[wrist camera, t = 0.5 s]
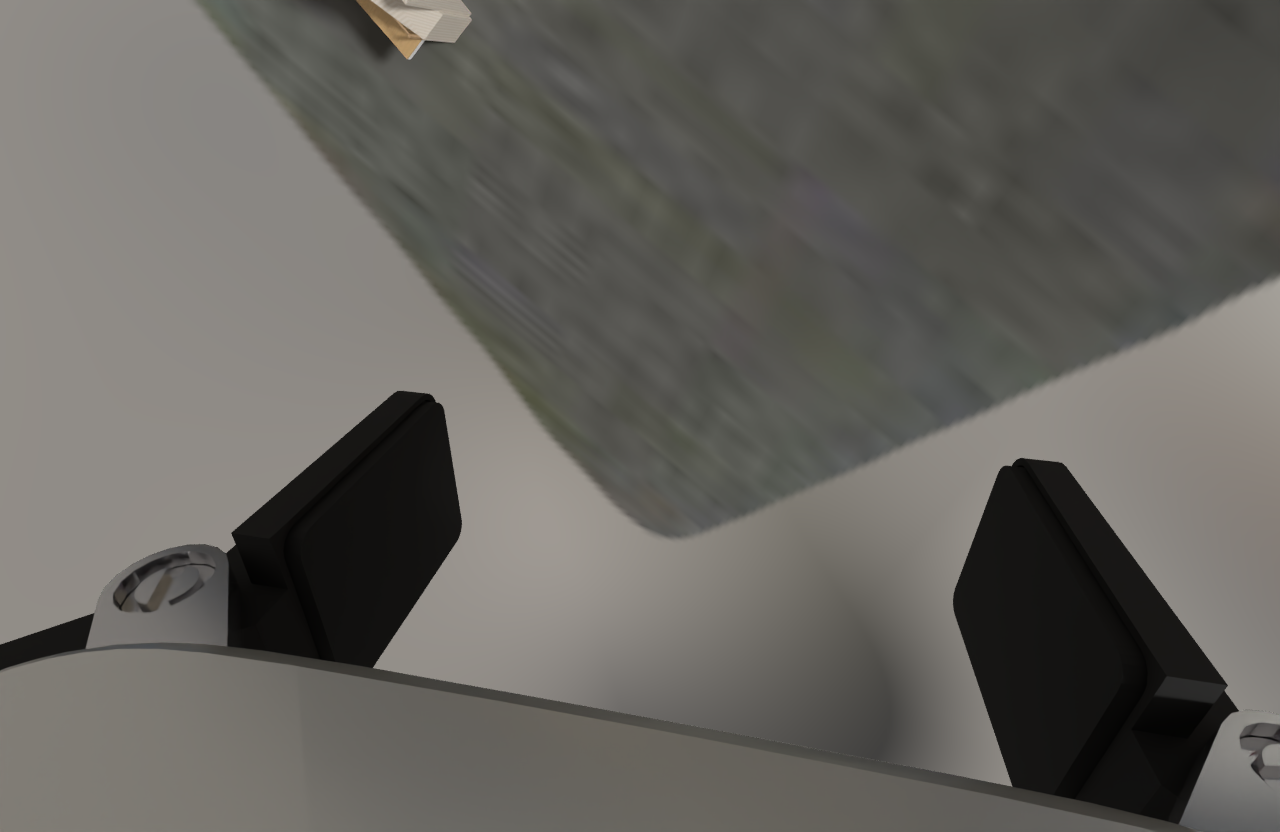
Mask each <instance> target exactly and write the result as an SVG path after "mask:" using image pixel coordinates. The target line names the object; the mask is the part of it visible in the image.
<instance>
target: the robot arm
mask: <svg viewBox="0 0 1280 832" xmlns="http://www.w3.org/2000/svg"><path fill="white" fill-rule="evenodd" d="M461 527H462V520H461V513H460V507H459V501H458V494H457V488H456V482H455V475H454V469H453V463H452V457H451V451H450V444H449V438H448V432H447V426H446V419H445V414H444V409H443V406H442V405H441V404H440V403H436V402H435V399H434V398H433V396H432V395H430V394H425V393H416V392H407V391H397V392H395V393H394V394H393V395H391V396H390V397H389V398H388V399H387V400H386V401H384V402H383V403H382V404H381V405H380V406H379V407H377V408H376V409H375V410H374V411H373V412H372V413H370V414H369V415H368V416H367V417H366V418H365V419H363V420H362V421H361V422H360V423H359V424H358V425H356V426H355V427H354V428H353V429H352V430H351V431H350V432H348V433H347V434H346V435H345V436H344V437H343V438H341V439H340V440H339V441H338V442H337V443H336V444H334V445H333V446H332V447H331V448H330V449H329V450H327V451H326V452H325V453H324V454H323V455H322V456H320V457H319V458H318V459H317V460H316V461H315V462H313V463H312V464H311V465H310V466H309V467H308V468H306V469H305V470H304V471H303V472H302V473H301V474H299V475H298V476H297V477H296V478H295V479H294V480H292V481H291V482H290V483H289V484H288V485H287V486H286V487H284V488H283V489H282V490H281V491H280V492H278V493H277V494H276V495H275V496H274V497H273V498H271V500H269V501H268V502H267V503H266V504H265V505H263V506H262V507H261V508H260V509H259V510H257V511H256V512H255V513H254V514H253V515H252V516H250V517H249V518H248V519H247V520H246V521H245V522H244V523H242V524H241V525H240V526H239V527H238V528H237V529H235V531H233V532H232V536H233V538H234V541H235V543H236V545H235V546H234V547H233V548H232V549H231V550H229V551H228V552H227V553H224V552H223V551H222V550H220V549H219V548H218V547H214V546H210V545H206V544H196V545H195V544H194V545H184V546H178V547H174V548H169V549H166V550H163V551H160V552H157V553H154V554H152V555H149V556H148V557H145V558H143V559H141V560H139V561H137V562H136V563H133V564H132V565H130V566H129V567H128V568H126V569H125V570H123V571H122V572H120V573H119V574H117V575H116V576H115V577H114V578H113V579H112V580H111V581H110V582H109V584H107V585H106V586H105V588H104V589H103V591H102V593H101V595H100V597H99V599H98V602H97V606H96V610H95V613H93V614H90V615H87V616H84V617H81V618H78V619H75V620H73V621H70V622H66V623H63V624H60V625H57V626H55V627H52V628H49V629H46V630H43V631H40V632H37V633H34V634H31V635H28V636H25V637H22V638H19V639H16V640H13V641H10V642H7V643H4V644H1V645H0V832H1280V715H1278V714H1275V713H1272V712H1266V711H1257V710H1244V711H1239V710H1238V709H1237V708H1236V706H1235V705H1234V703H1233V702H1232V701H1231V699H1230V698H1229V697H1228V695H1227V694H1226V693H1225V691H1224V690H1225V689H1226V687H1227V686H1228V685H1227V684H1226V682H1225V681H1224V680H1223V678H1222V677H1221V676H1220V674H1219V673H1218V671H1217V670H1216V669H1215V667H1214V666H1213V665H1212V663H1211V662H1210V661H1209V659H1208V658H1207V657H1206V655H1205V654H1204V652H1203V651H1202V650H1201V649H1200V647H1199V646H1198V644H1197V643H1196V642H1195V640H1194V639H1193V638H1192V636H1191V635H1190V634H1189V632H1188V631H1187V629H1186V628H1185V627H1184V625H1183V624H1182V623H1181V621H1180V620H1179V619H1178V617H1177V616H1176V615H1175V613H1174V612H1173V611H1172V609H1171V608H1170V607H1169V605H1168V604H1167V602H1166V601H1165V600H1164V598H1163V597H1162V596H1161V595H1160V593H1159V592H1158V590H1157V589H1156V588H1155V586H1154V585H1153V584H1152V582H1151V581H1150V580H1149V578H1148V577H1147V576H1146V574H1145V573H1144V571H1143V570H1142V569H1141V567H1140V566H1139V565H1138V563H1137V562H1136V561H1135V559H1134V558H1133V556H1132V555H1131V554H1130V552H1129V551H1128V550H1127V548H1126V547H1125V546H1124V544H1123V543H1122V542H1121V540H1120V539H1119V538H1118V536H1117V535H1116V533H1114V531H1113V529H1112V528H1111V527H1110V525H1109V524H1108V523H1107V522H1106V520H1105V519H1104V517H1103V516H1102V515H1101V513H1100V512H1099V510H1098V509H1097V508H1096V506H1095V505H1094V504H1093V502H1092V501H1091V500H1090V498H1089V497H1088V496H1087V494H1086V493H1085V492H1084V490H1083V489H1082V488H1081V486H1080V485H1079V484H1078V482H1077V481H1076V480H1075V478H1074V477H1073V476H1072V474H1071V473H1070V471H1069V470H1068V469H1067V467H1066V466H1065V465H1064V464H1062V463H1059V462H1052V461H1043V460H1033V459H1024V458H1020V459H1017V460H1016V461H1015V462H1014V463H1013V465H1012V466H1003V467H1002V468H1001V469H1000V471H999V473H998V475H997V478H996V481H995V483H994V486H993V489H992V491H991V494H990V497H989V499H988V502H987V505H986V507H985V510H984V513H983V515H982V518H981V521H980V524H979V526H978V529H977V532H976V534H975V537H974V540H973V542H972V545H971V548H970V551H969V553H968V556H967V558H966V561H965V564H964V567H963V569H962V572H961V575H960V577H959V580H958V583H957V585H956V588H955V592H954V598H953V607H954V613H955V616H956V619H957V622H958V625H959V628H960V631H961V634H962V637H963V640H964V643H965V646H966V649H967V652H968V655H969V658H970V661H971V664H972V667H973V670H974V673H975V676H976V679H977V682H978V685H979V688H980V691H981V694H982V697H983V700H984V703H985V706H986V709H987V712H988V715H989V718H990V721H991V724H992V727H993V729H994V733H995V736H996V738H997V742H998V745H999V748H1000V750H1001V754H1002V757H1003V759H1004V762H1005V765H1006V768H1007V771H1008V774H1009V777H1010V780H1011V783H1012V786H1013V787H1011V786H1006V785H1001V784H996V783H991V782H986V781H981V780H976V779H971V778H966V777H962V776H956V775H952V774H946V773H941V772H935V771H931V770H925V769H920V768H915V767H910V766H903V765H899V764H894V763H888V762H883V761H878V760H872V759H867V758H862V757H857V756H851V755H846V754H841V753H835V752H830V751H825V750H819V749H814V748H809V747H803V746H798V745H793V744H788V743H782V742H777V741H772V740H766V739H761V738H755V737H750V736H745V735H740V734H734V733H729V732H723V731H718V730H713V729H707V728H701V727H696V726H691V725H685V724H680V723H674V722H669V721H664V720H658V719H653V718H647V717H641V716H636V715H631V714H625V713H620V712H615V711H609V710H603V709H598V708H592V707H587V706H582V705H576V704H571V703H565V702H560V701H554V700H548V699H543V698H537V697H531V696H527V695H521V694H515V693H509V692H504V691H498V690H492V689H487V688H481V687H475V686H470V685H464V684H459V683H453V682H448V681H442V680H436V679H430V678H425V677H419V676H414V675H408V674H402V673H397V672H391V671H385V670H380V669H374V668H373V667H374V665H375V664H376V662H377V661H378V659H379V657H380V656H381V655H382V653H383V652H384V650H385V649H386V647H387V646H388V644H389V642H390V641H391V639H392V638H393V636H394V635H395V633H396V632H397V631H398V629H399V628H400V626H401V625H402V623H403V621H404V620H405V619H406V617H407V616H408V614H409V612H410V611H411V610H412V608H413V607H414V605H415V604H416V602H417V600H418V599H419V597H420V596H421V595H422V593H423V592H424V590H425V588H426V587H427V585H428V584H429V583H430V581H431V579H432V578H433V576H434V575H435V574H436V572H437V570H438V569H439V568H440V566H441V565H442V563H443V561H444V560H445V558H446V557H447V555H448V554H449V552H450V551H451V549H452V548H453V546H454V545H455V543H456V542H457V540H458V538H459V536H460V532H461Z"/></svg>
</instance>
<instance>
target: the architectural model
mask: <svg viewBox="0 0 1280 832" xmlns="http://www.w3.org/2000/svg"><path fill="white" fill-rule="evenodd" d="M356 1H357V2H358V3H359V4H360V6H361V7H362V8H363V9H364V10H365V11H366V12H367V14H368V15H369V16H370V17H371V18H372V19H373V21H374V22H375V23H376V24H377V25H378V26H379V27H380V29H381V30H382V31H383V32H384V33H385V34H386V35H387V37H388V38H389V39H390V40H391V41H392V42H393V44H394V45H395V46H396V47H397V48H398V49H399V50H400V52H401V53H402V54H403V55H404V56H405V57H406V58H407V59H410V60H411V59H412V57H413V56H414V54H415V53H416V52H417V50H418V49H419V48H420V46H421V45H422V44H423V42H424V41H425V40H428V41H439V42H450V43H455V41H456V40H457V39H458V37H459V36H460V35H461V34H462V32H463V31H464V30H465V28H466V27H467V26H468V24H469V23H470V22H471V21H472V19H471V18H470V17H469V16H470V15H471V12H470V11H469V10H468V8H467V7H466V6H465V5H464V4H463V2H462V1H461V0H356ZM447 12H448V13H447ZM458 14H459V15H458Z"/></svg>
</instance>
